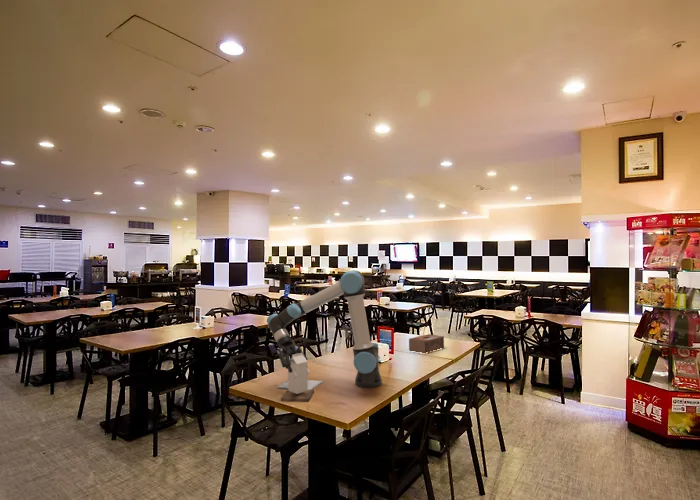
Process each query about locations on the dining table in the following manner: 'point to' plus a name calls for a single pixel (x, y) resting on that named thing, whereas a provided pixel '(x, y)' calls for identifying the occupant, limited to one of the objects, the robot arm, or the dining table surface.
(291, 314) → the robot arm
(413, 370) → the dining table surface
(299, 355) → the milk carton
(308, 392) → the walnut board
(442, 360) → the dining table surface
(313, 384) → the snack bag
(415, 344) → the tissue box cover
